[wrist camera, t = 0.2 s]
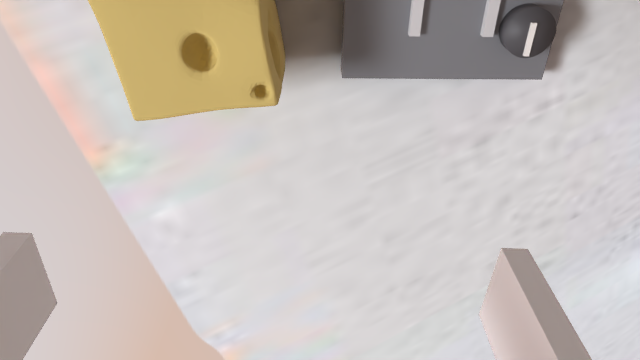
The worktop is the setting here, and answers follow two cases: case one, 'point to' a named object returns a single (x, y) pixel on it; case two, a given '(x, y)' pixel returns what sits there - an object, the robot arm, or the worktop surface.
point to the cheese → (194, 54)
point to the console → (447, 38)
